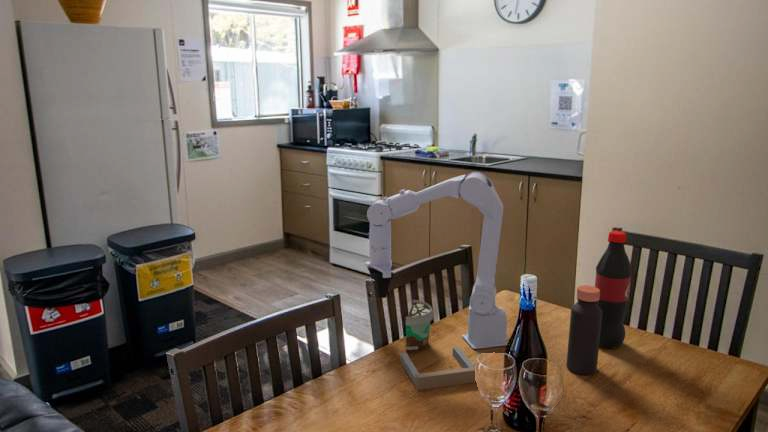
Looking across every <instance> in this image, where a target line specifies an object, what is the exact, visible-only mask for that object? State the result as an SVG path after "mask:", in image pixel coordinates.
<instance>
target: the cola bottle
mask: <svg viewBox="0 0 768 432" xmlns="http://www.w3.org/2000/svg"><path fill="white" fill-rule="evenodd" d="M607 242H608V245H607V247H606V250H605V251H604V253H603V254H602V256H601V257H600V259H599V261H598V262H597V265H596V267H595V272H596V273H595V280H594V281H595V283H594V287H596V288H598V289H599V290H600V297H599V302H598V303H597V305H598V306H599V307H600V308H601V310H602V321H601V331H600V341H599V347H601V348H605V349H617V348H619V347H621V346H622V345H623V343H624V341H625V337H626V328H625V325H624V321H625V317H626V313H627V310H628V306H629V303H630V298H629V297H630V290H631V289H630V288H631V279H632V275H633V269H632V264H631V262H630V258H629V256H628V254H627V252H626V249H625V248H626V247H625V244H626V243H627V233H626V232H623V231H620V230H611V231H609V233H608V238H607Z"/></svg>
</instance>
